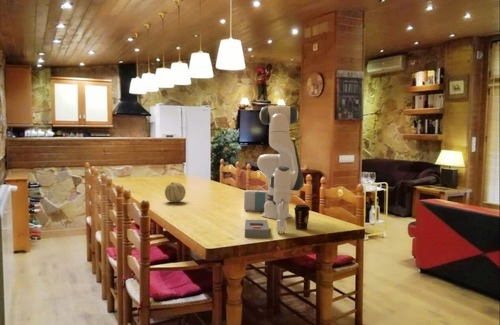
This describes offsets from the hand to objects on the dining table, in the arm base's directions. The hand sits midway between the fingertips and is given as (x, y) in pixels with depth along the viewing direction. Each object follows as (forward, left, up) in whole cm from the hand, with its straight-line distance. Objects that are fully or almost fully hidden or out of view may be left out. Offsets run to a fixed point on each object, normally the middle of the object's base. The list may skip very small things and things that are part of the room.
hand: (281, 224), depth 214 cm
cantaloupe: (-84, -71, -5) cm, 110 cm away
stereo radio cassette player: (-61, -10, -5) cm, 62 cm away
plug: (-1, 0, -5) cm, 5 cm away
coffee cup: (-12, +12, -5) cm, 17 cm away
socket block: (-3, -13, -5) cm, 14 cm away
